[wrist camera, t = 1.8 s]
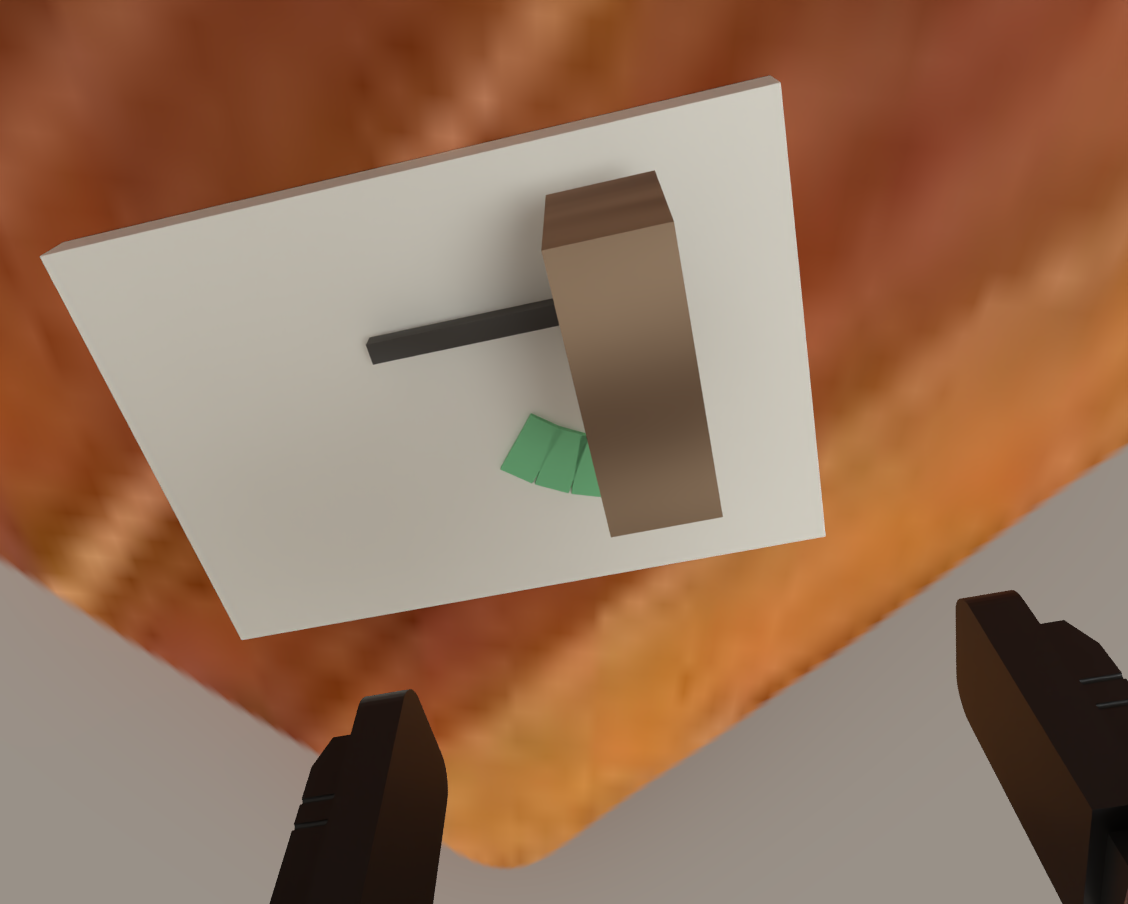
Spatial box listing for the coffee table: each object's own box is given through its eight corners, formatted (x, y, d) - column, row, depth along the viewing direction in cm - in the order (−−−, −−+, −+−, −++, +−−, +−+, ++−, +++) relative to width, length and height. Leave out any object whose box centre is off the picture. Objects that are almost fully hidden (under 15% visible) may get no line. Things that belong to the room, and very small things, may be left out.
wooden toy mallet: (332, 224, 27) (260, 312, 21) (647, 151, 26) (674, 221, 20) (411, 448, 31) (371, 580, 25) (689, 393, 30) (722, 517, 24)
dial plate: (63, 242, 29) (36, 258, 28) (770, 75, 27) (781, 83, 25) (253, 615, 37) (239, 643, 36) (815, 513, 35) (826, 539, 33)
